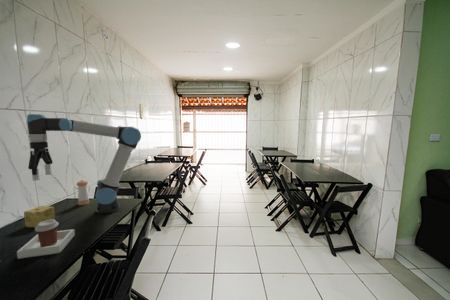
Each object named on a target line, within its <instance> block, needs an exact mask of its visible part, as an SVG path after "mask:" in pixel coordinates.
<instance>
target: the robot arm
mask: <svg viewBox="0 0 450 300" xmlns="http://www.w3.org/2000/svg"><path fill="white" fill-rule="evenodd" d="M26 120H27V122H26V123H27V130H28V138H29V141H30V142H29V148H30V149H32V150H31V151H30V152H29V160H28V166H27V167H28V170H31V177H32V181H33V182H34V181H40V172H39V170H40V169H39V168H38V166H39V164H40V160H41V159H42V161H43V162H44V163H45V164H44V171H45V175H47V176H49V175H52V166H51V165H52V164H54V163H53V159H52V156H51V154H50V151H49V145H48V133H47V132H50V131H51V132H75V133H79V134H80V133H82V134H87V135H88V134H89V135H94V136H102V137H108V138H109V137H110V138H115V139H116V140H117V141H118V142H117V145H118V147H117V150H116V153H115V154H114V157H113V159H112V162H111V164H110V166H109V169H108V171H107V174H106V175H105V178H103V179H99V180H97V183H96V186H97V189H96V193H95V196H94V197H95V200H96V202H97V205H96V209H95V211H96V213H97V214H99V215H106V214H113V213H115V212H117V211H119V210H120V208H121V205H120V202H119V200H118V198H117V197H118V196H117V193H118V191H119V188H120V186H121V184H120V180H121V178H122V176H123V173H124V171H125V168H126V165H127V164H128V161H129V159H130V157H131V154H132V151H133V150H135V149H137V146H138V143H139V142H140V141H141V138H142V135H141V134H142V133H141V131H140V130H139V128H137V127H134V126H121V125H118V126H112V125H104V124H100V123H99V124H98V123H91V122H86V121H81V120H80V121H79V120H74V119H70V118H67V117H59V118H58V117H46V116H45V114H39V113H35V114H34V113H31V114H30V113H29V114H27V116H26Z"/></svg>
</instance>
